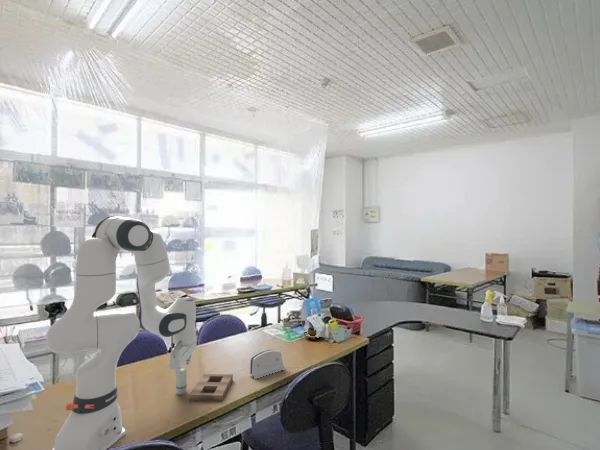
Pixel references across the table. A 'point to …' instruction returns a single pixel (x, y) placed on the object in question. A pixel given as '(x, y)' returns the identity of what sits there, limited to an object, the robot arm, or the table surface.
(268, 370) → the grey rounded block
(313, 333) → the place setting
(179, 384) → the peg
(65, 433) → the robot arm
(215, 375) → the board
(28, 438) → the table surface
